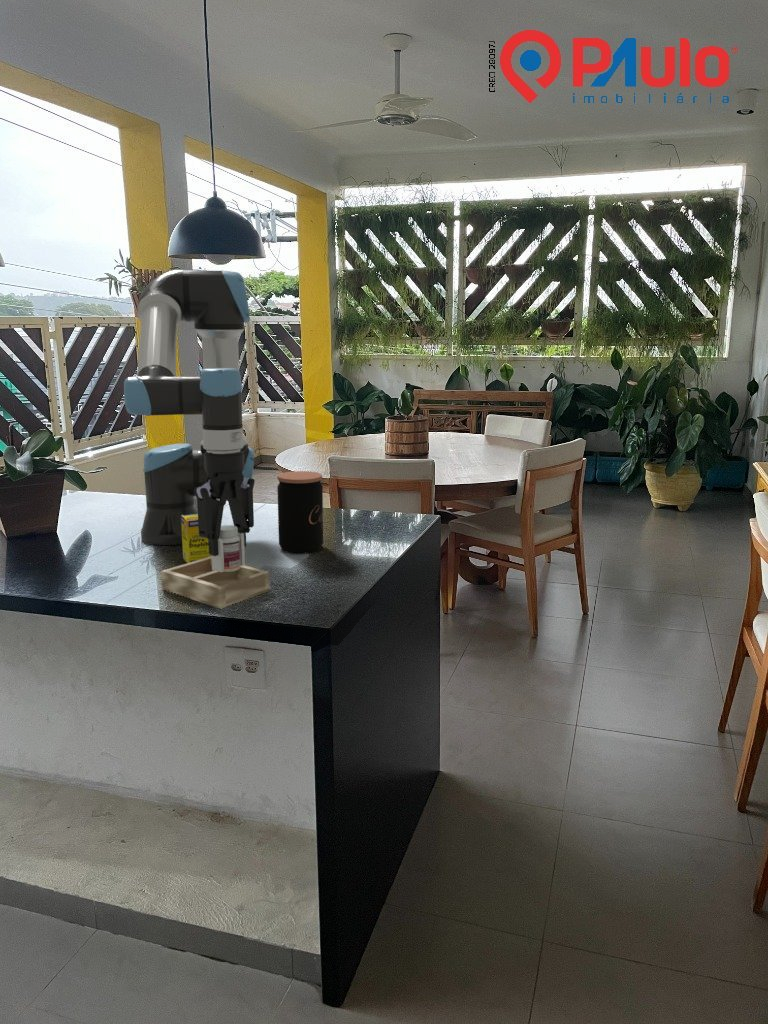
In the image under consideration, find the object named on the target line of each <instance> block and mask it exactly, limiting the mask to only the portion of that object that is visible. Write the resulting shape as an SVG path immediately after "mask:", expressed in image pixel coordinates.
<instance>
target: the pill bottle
mask: <svg viewBox="0 0 768 1024" xmlns="http://www.w3.org/2000/svg"><path fill="white" fill-rule="evenodd" d="M237 534H238V528H237V527H236V526H234V525H230V524H229V525H226V524H225V525H221V530H220V537H219V538H220V539H223V552H224V572H232V571H236V570H239V569H240V568H241V557H240V538H239V537H238V536H237Z"/></svg>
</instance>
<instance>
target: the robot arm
mask: <svg viewBox="0 0 768 1024" xmlns="http://www.w3.org/2000/svg"><path fill="white" fill-rule="evenodd" d="M137 301H138V303H137V308H136V309H137V310H136V311H137V312H136V313H137V317H138V319H139V321H140V332H139V346H138V356H137V357H138V359H137V371H136V375H134V376H128V377H126V378H125V380H124V381H123V397H124V404H125V405H124V406H125V409H126V412H127V413H128V414H130V415H134V416H147V417H151V416H170V415H171V416H173V415H174V416H175V415H176V416H177V415H178V416H181V415H182V416H183V415H184V416H185V415H186V416H187V415H190V416H191V415H192V416H193V415H201V419H202V440H201V441H200V449H193V446H192V444H190V443H174V444H167V445H160V446H158V447H153V448H151V449H149V450H148V451H146V452H145V453H144V456H143V469H142V471H143V472H144V483H145V484H144V486H145V487H144V488H145V489H144V490H145V502H146V503H145V504H146V510H145V515H144V517H143V522H142V523H143V524H142V527H141V529H140V535H141V536H140V537H141V541H142V542H143V543H145V544H149V545H156V546H173V545H174V546H176V545H182V525H181V515H191V514H198V528H199V536H200V537H204V538H207V539H208V546H209V554H210V555H211V558H212V570H215V571H218V572H224V552H223V539H220V538H219V537H220V530H221V526H222V522H223V515H224V508H225V506H226V504H227V502H228V506H229V511H230V515H231V518H232V524H233V526H236V527H237V528H238V534H237V536H238V537H239V538H240V557H241V566H243V565H245V566H246V558H245V557H246V554H245V548H246V547H247V534H249V533H250V531H251V528H253V527H254V526H255V521H254V520H255V517H254V515H255V514H254V491H253V490H254V487H255V482H256V481H255V479H254V478H253V477H254V464H255V462H254V460H255V450H254V449H253V448H251V447H249V441H248V440H247V439H246V438H245V437H244V429H243V427H244V426H243V396H242V394H243V393H242V392H243V391H242V390H243V385H242V384H243V383H242V379H241V378H242V377H241V372H240V357H239V336H240V335H241V334H242V333H243V332H244V331H245V324H247V323H249V322H251V316H250V309H249V308H250V307H249V302H248V295H247V291H246V285H245V280H244V277H243V276H242V274H241V273H240V272H236V271H232V270H231V271H230V270H229V271H228V270H223V269H221V270H200V269H199V270H198V269H197V270H191V269H190V270H185V269H174V270H170V271H167V272H164V273H161V274H160V275H158V276H157V277H155V278H154V279H153V280H151V281H150V282H149V283H148V284H147V285H146V287H145V288H144V289H143V291H142V292H141V294H140V297H139V298H138V300H137ZM181 322H187V323H188V322H189V323H194V324H193V325H194V326H193V327H194V331H195V332H196V333H197V334H198V335H199V336H200V338H201V351H202V353H201V354H202V370H201V371H200V376H197V375H196V376H189V375H188V376H183V375H182V376H177V375H176V374H177V372H176V371H177V336H178V335H177V331H178V330H177V329H178V326H179V324H180V323H181ZM195 497H196V504H197V506H195V505H196V504H195ZM196 508H197V509H196ZM213 532H214V533H213Z"/></svg>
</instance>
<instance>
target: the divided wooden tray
mask: <svg viewBox="0 0 768 1024" xmlns="http://www.w3.org/2000/svg"><path fill="white" fill-rule="evenodd" d="M160 572H161V573H160V574H161V589H162V591H164V590H166V591H165V592H168V591H169V592H168V593H171V592H173V593H172V594H174V593H176V594H175V595H177V594H179V595H178V596H180V595H181V596H180V597H183V596H184V598H186V597H187V598H186V599H189V598H190V600H193V601H195V602H199V603H202V604H205V605H207V606H212V607H214V608H218V609H220V610H222V609H224V608H225V609H226V608H228V607H230V606H233V605H235V603H236V604H238V603H240V601H241V602H244V601H246V600H250V599H252V598H254V597H257V596H260V595H262V593H263V594H265V593H268V592H270V591H271V590H270V587H271V586H270V585H271V584H270V583H271V582H270V571H267V570H263V569H260V568H255V567H253V566H248V565H246V564H245V565H243V566H241V568H240V569H239V570H236V571H232V572H218V571H215V570H212V558H211V556H210V557H207V558H203V559H200V560H197V561H193V562H190V563H183V564H180V565H177V566H173V567H170V568H167V569H163V570H160ZM245 599H246V600H245ZM243 600H244V601H243ZM232 604H233V605H232ZM229 605H230V606H229ZM227 606H228V607H227Z"/></svg>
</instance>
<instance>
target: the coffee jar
mask: <svg viewBox="0 0 768 1024" xmlns="http://www.w3.org/2000/svg"><path fill="white" fill-rule="evenodd" d="M276 477H277V480H278V485H277V487H276V489H277V516H278V517H277V521H278V522H277V525H278V528H277V529H278V545H279V547H280V548H281V550H282V551H283V552H285V553H288V554H295V555H297V554H298V555H299V554H300V555H303V554H310V553H315V552H318V551H319V550H321V547H323V544H324V501H323V500H324V499H323V497H324V495H323V493H324V492H323V491H324V488H323V487H324V486H323V484H322V482H321V481H322V480H323V474H322V473H319V472H315V471H307V470H294V471H285V472H281V473H279V474H277V476H276Z"/></svg>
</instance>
